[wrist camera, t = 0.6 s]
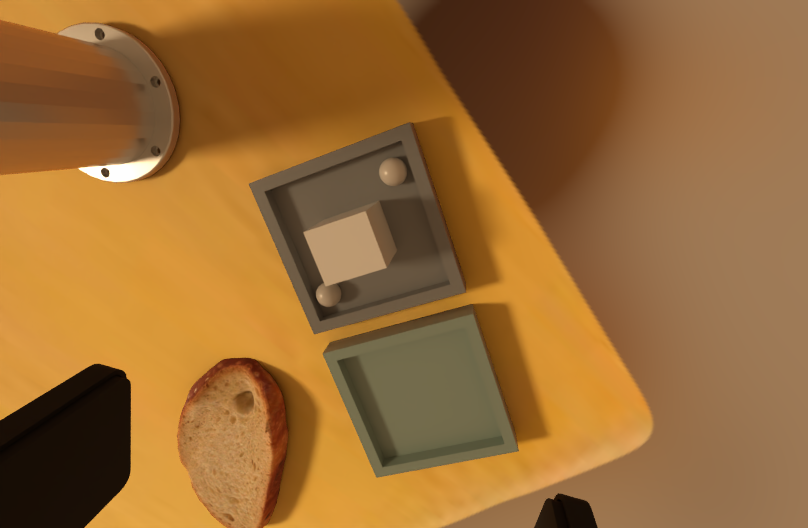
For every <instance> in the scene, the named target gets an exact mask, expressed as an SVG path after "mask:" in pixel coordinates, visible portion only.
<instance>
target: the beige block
mask: <svg viewBox="0 0 808 528" xmlns="http://www.w3.org/2000/svg"><path fill="white" fill-rule="evenodd" d="M303 233H304V236H305V238H306V240H307V243H308V245H309V248H310V250H311V253H312V255H313V257H314V260H315V262H316V265H317V267H318V269H319V272H320V274H321V277H322V279H323V281H324V284H325V286H329V285H332V284H336V283H339V282H342V281H345V280H349V279H352V278H355V277H359V276H362V275H365V274H368V273H372V272H375V271H378V270H382V269H385V268H387V267H388V265H389V263H390V262H391V260H392V258H393V257H394V255H395V253H396V251H397V248H396V246H395V243H394V240H393V237H392V235H391V232H390V229H389V226H388V224H387V221H386V218H385V215H384V213H383V210H382V207H381V204H380V202H379V201H377V202H374V203H371V204H368V205H365V206H362V207H359V208H356V209H353V210H351V211H348V212H345V213H342V214H339V215H336V216H333V217H330V218H327V219H324V220H323V221H321V222H319V223H318V224H316V225H314V226H313V227H311V228H309V229H308V230H306V231H304V232H303Z"/></svg>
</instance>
